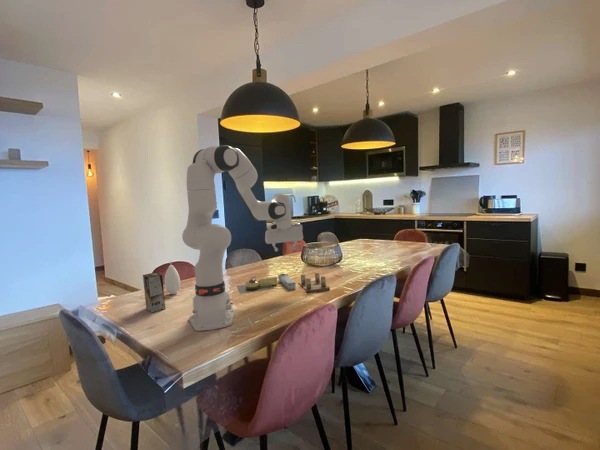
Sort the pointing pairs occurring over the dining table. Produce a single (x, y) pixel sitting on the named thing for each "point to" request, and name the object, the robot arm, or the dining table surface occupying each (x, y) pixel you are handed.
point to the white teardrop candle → (172, 280)
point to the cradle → (314, 283)
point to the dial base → (243, 289)
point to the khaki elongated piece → (261, 282)
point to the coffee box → (154, 291)
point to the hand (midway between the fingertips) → (285, 250)
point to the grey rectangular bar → (287, 281)
